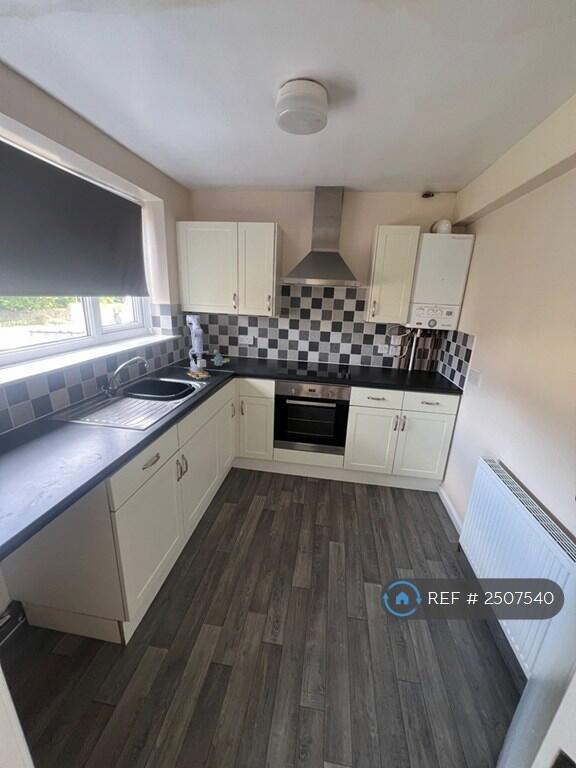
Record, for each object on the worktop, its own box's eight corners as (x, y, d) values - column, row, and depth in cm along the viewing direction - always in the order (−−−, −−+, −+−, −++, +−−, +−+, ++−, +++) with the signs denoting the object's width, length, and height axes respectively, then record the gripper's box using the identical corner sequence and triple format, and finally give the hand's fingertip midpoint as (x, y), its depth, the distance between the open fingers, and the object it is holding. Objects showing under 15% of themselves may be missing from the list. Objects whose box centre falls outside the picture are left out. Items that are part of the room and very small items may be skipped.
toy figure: (207, 366, 257) (206, 348, 253) (215, 364, 266) (214, 347, 262) (222, 368, 249) (221, 351, 245) (230, 366, 258) (230, 349, 254)
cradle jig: (187, 374, 228) (186, 370, 228) (200, 372, 235) (200, 368, 234) (197, 379, 215) (196, 375, 214) (211, 377, 222) (211, 373, 221)
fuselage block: (193, 364, 226) (193, 358, 225) (199, 364, 229) (199, 357, 228) (199, 367, 218) (199, 360, 217) (206, 366, 221) (205, 360, 220)
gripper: (191, 347, 212) (192, 366, 216) (210, 345, 221) (211, 363, 225) (187, 345, 217) (188, 364, 221) (206, 344, 226) (206, 362, 230)
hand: (199, 363), depth 223 cm, fingers closed on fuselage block, 5 cm apart
